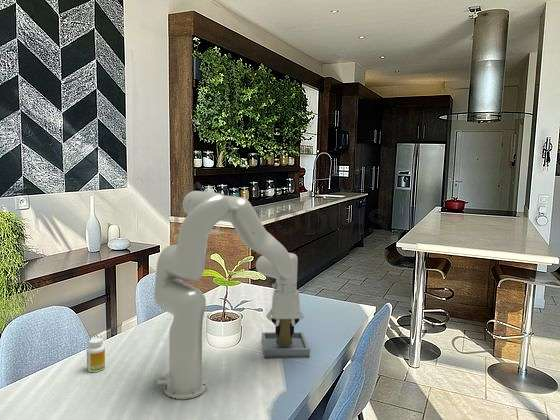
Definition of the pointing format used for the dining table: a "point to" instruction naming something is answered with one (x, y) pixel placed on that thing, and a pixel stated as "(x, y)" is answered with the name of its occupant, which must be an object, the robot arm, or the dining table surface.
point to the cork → (284, 333)
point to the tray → (294, 350)
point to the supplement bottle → (95, 355)
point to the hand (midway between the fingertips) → (284, 335)
